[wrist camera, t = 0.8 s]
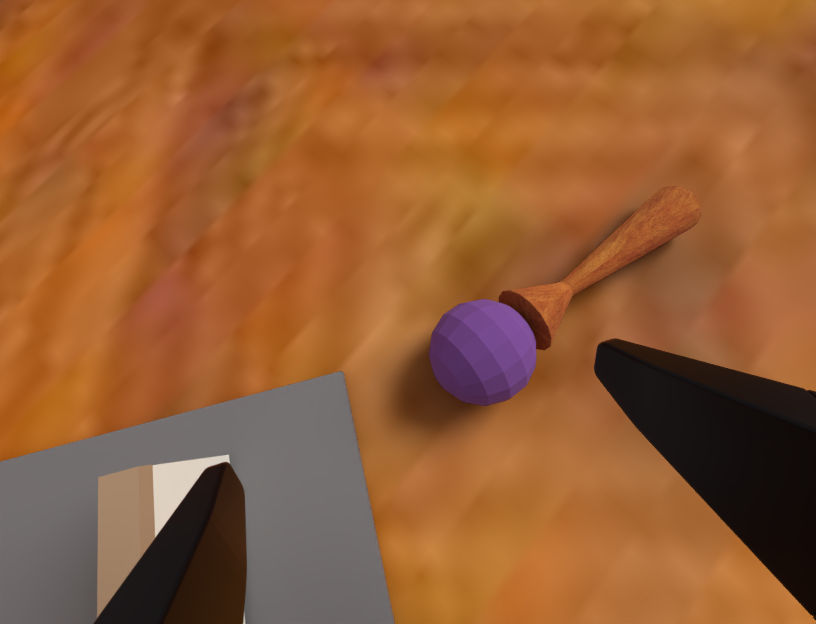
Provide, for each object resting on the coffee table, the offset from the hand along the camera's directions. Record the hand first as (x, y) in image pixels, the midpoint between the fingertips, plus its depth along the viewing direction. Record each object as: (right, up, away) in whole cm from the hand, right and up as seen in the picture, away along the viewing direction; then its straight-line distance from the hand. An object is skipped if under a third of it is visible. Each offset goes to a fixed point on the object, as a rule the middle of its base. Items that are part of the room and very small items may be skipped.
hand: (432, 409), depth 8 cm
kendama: (+9, +3, +17) cm, 19 cm away
